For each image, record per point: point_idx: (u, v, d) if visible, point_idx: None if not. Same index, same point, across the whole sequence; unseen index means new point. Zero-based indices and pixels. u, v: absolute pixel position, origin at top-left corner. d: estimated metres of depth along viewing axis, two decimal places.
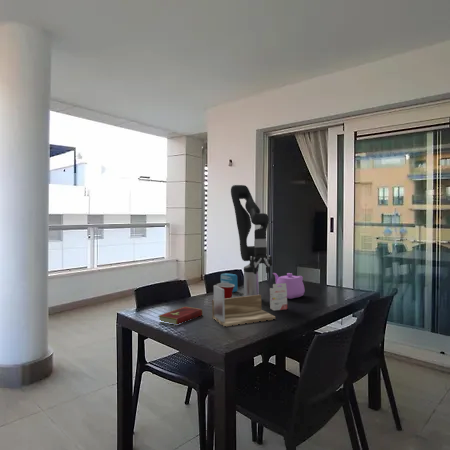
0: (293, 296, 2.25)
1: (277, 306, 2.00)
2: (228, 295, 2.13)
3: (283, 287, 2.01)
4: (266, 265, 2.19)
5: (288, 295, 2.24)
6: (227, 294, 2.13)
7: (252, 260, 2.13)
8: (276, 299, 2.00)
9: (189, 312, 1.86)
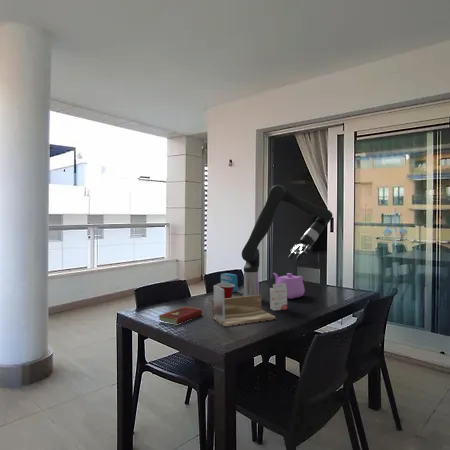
0: (293, 296, 2.25)
1: (277, 306, 2.00)
2: (228, 295, 2.13)
3: (283, 287, 2.01)
4: (293, 252, 2.11)
5: (288, 295, 2.24)
6: (227, 294, 2.13)
7: (309, 250, 2.02)
8: (276, 299, 2.00)
9: (189, 312, 1.86)
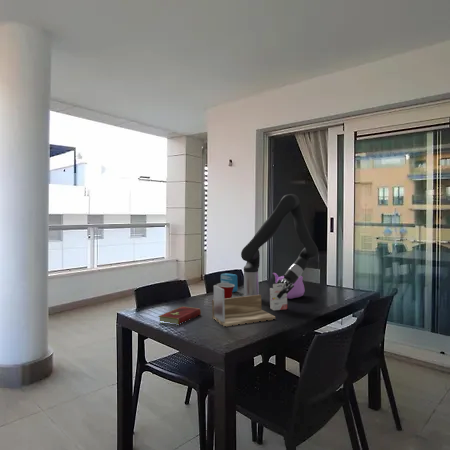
0: (293, 296, 2.25)
1: (277, 306, 2.00)
2: (228, 295, 2.13)
3: None
4: None
5: (288, 295, 2.24)
6: (227, 294, 2.13)
7: (291, 288, 1.99)
8: (276, 299, 2.00)
9: (188, 312, 1.87)
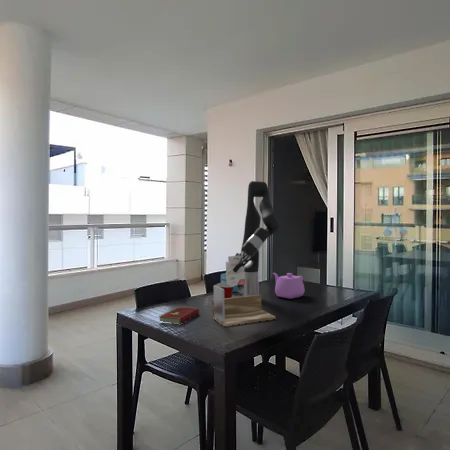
0: (293, 296, 2.25)
1: (233, 281, 1.80)
2: (228, 295, 2.13)
3: None
4: None
5: (288, 295, 2.24)
6: (227, 294, 2.13)
7: (248, 261, 1.79)
8: (231, 273, 1.80)
9: (188, 311, 1.88)
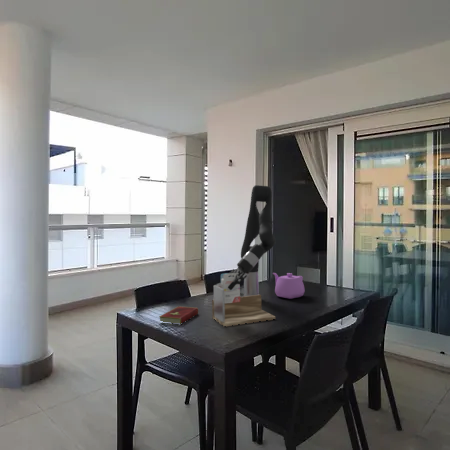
0: (293, 296, 2.25)
1: (228, 299, 1.79)
2: None
3: None
4: None
5: (288, 295, 2.24)
6: None
7: (243, 278, 1.78)
8: (227, 290, 1.79)
9: (188, 311, 1.88)
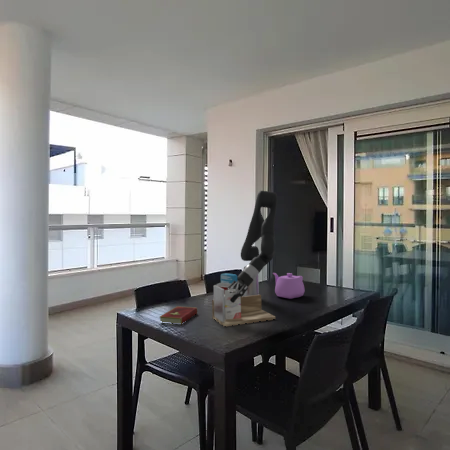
0: (293, 296, 2.25)
1: (229, 315, 1.79)
2: None
3: None
4: None
5: (288, 295, 2.24)
6: None
7: (245, 291, 1.78)
8: (228, 307, 1.79)
9: (187, 311, 1.88)
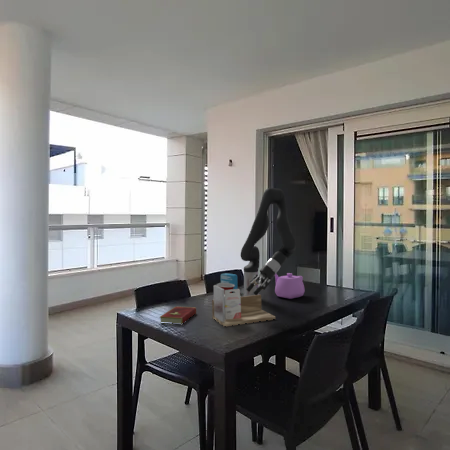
0: (293, 296, 2.25)
1: (229, 315, 1.79)
2: None
3: (236, 294, 1.80)
4: (252, 283, 1.93)
5: (288, 295, 2.24)
6: None
7: None
8: (228, 307, 1.79)
9: (187, 311, 1.89)
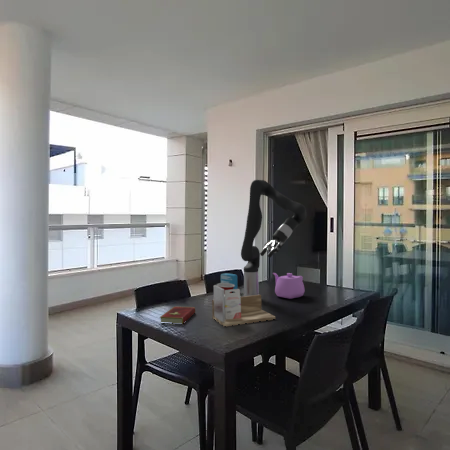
0: (293, 296, 2.25)
1: (229, 315, 1.79)
2: None
3: (236, 294, 1.80)
4: (265, 248, 2.02)
5: (288, 295, 2.24)
6: None
7: (281, 246, 1.93)
8: (228, 307, 1.79)
9: (186, 311, 1.89)
